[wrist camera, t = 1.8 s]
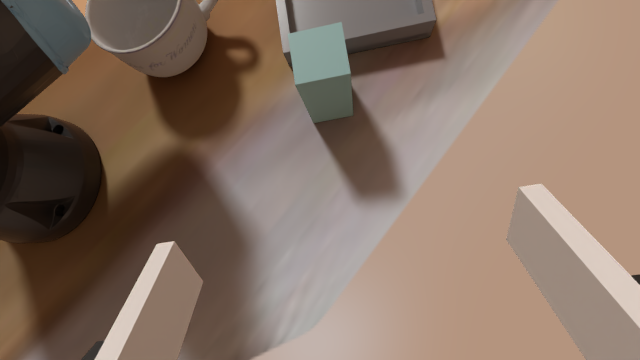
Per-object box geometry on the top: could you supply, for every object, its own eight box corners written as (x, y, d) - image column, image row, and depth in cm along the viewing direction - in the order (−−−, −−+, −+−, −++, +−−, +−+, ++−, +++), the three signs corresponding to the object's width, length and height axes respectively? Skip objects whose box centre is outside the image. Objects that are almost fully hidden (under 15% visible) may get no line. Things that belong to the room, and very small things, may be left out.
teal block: (313, 123, 35) (295, 84, 25) (307, 85, 35) (287, 33, 25) (353, 115, 34) (350, 73, 24) (346, 77, 35) (341, 21, 25)
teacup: (144, 98, 38) (87, 66, 30) (130, 20, 39) (73, -29, 32) (251, 64, 37) (221, 21, 29) (232, -14, 38) (199, -75, 30)
